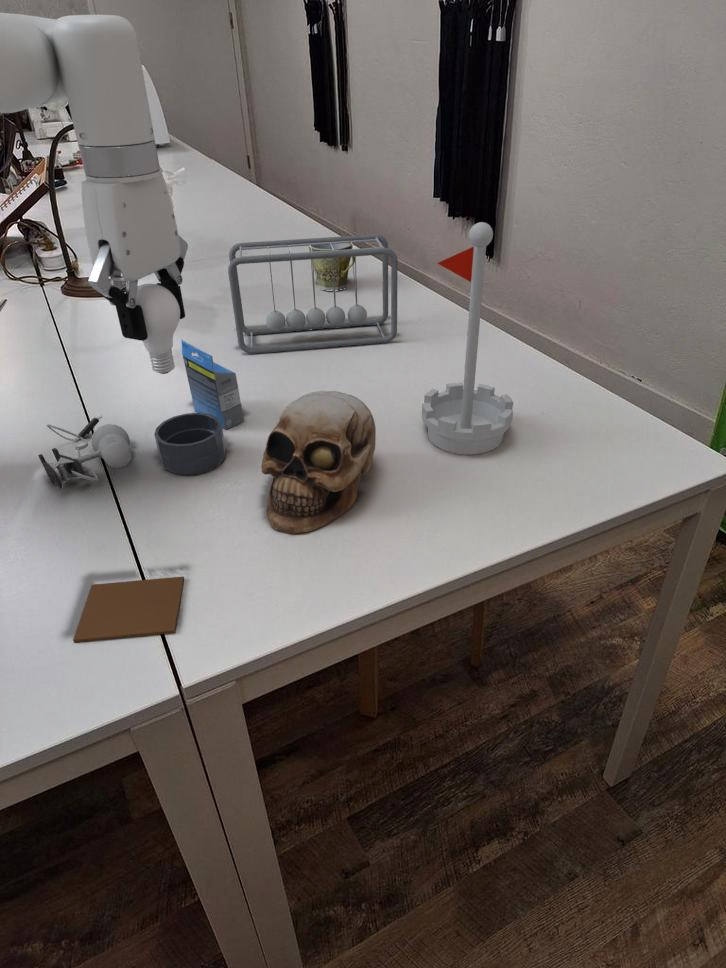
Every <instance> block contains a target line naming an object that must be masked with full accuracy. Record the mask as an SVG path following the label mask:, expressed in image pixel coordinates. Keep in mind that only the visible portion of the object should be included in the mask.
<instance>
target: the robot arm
mask: <svg viewBox="0 0 726 968" xmlns="http://www.w3.org/2000/svg"><path fill="white" fill-rule="evenodd" d="M62 101H67V104H68V108H69V112H70V117H71V121H72V125H73V129H74V133H75V138H76V142H77V146H78V150H79V154H80V159H81V163H82V167H83V171H84V175H85V180H83V181H81V205H82V214H83V216H82V217H83V222H84V229H85V234H86V240H87V246H88V249H89V255H90V260H91V264H92V269H91V271H90V275H89V277H88V279H87V280H88V281H87V282H88V285H89V287H91V288H92V289H93V290H95V291H96V292H97V293H99V294H100V295H101V297H103V298H104V299H106V300H107V301H108V302H109V304H110V306H115V310H116V314H117V319H118V323H119V326H120V330H121V335H122V337H123V338H125V339H130V340H136V341H141V342H143V341H144V340H146V339H147V338H148V335H147V330H146V325H145V321H144V316H143V311H142V308H141V306H140V305H136V300H137V286H139V284H138V283H139V280H141V279H143V278H145V277H147V276H150V275H152V274H154V275H155V277H156V279H157V281H158V282H157V283H156V284H157V285H160V286H163V287H165V288H166V289H168V290H169V291H170V292H171V293H172V294H173V295H174V296H175V298H176V299H177V301H178V304H179V307H180V320H183V319H185V318H186V310H185V306H184V300H183V294H182V289H181V286H180V285H182V284H183V276H182V272H183V269H184V266H185V258H186V255H187V252H188V249H189V245H188V243H187V241H186V240H185V239H183V237H182V236H181V235H179V231H178V225H177V220H176V216H175V212H174V208H173V204H172V200H171V196H170V193H169V189H168V186H167V183H166V180H165V178H164V174H163V172H162V171H161V167H160V161H159V155H158V149H157V145H156V138H155V132H154V128H153V127H154V126H153V120H152V116H151V109H150V105H149V99H148V93H147V87H146V82H145V76H144V70H143V65H142V59H141V53H140V48H139V43H138V38H137V33H136V30H135V28H134V26H133V25H132V23H131V22H130V21H129V20H128V19H127V18H125V17H123V16H121V15H115V14H74V15H65V16H61V17H59V18H48V17H41V16H36V15H30V14H28V15H27V14H21V13H9V12H0V114H13V113H17V112H18V113H19V112H23V111H25V110H28V109H32V108H37V107H41V106H45V105H48V104H53V103H58V102H62ZM109 278H110V279H109ZM122 283H124V284H125V292H124V291H123V290H122Z"/></svg>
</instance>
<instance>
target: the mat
mask: <svg viewBox="0 0 726 968" xmlns="http://www.w3.org/2000/svg"><path fill="white" fill-rule="evenodd" d="M184 584H185V576H175V577H174V576H173V577H162V578H160V577H159V578H150V579H149V578H148V579H140V580H139V579H138V580H129V581H127V580H126V581H116V582H106V583H93V584H91V586H90V588H89V590H88V593H87V594H88V595H87V597H86V600H85V603H84V606H83V610H82V612H81V615H80V618H79V621H78V624H77V627H76V630H75V633H74V636H73V638H72V642H73V643H75V644H76V643H84V642H95V641H105V640H106V641H107V640H116V639H128V638H134V637H135V638H137V637H149V636H157V635H158V636H159V635H167V634H168V635H169V634H170V635H171V634H175V633H176V629H177V625H178V619H179V618H178V617H179V612H180V607H181V600H182V594H183V590H184Z"/></svg>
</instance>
